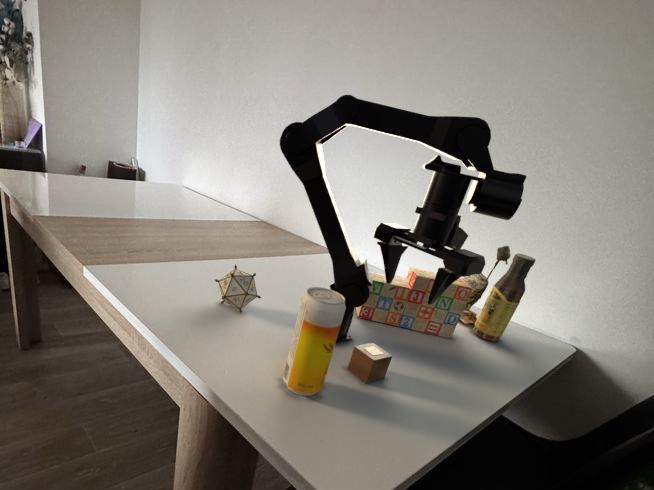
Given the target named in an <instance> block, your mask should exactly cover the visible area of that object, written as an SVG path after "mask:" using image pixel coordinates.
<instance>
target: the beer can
mask: <svg viewBox="0 0 654 490" xmlns="http://www.w3.org/2000/svg"><path fill="white" fill-rule="evenodd" d="M300 300H301V301H300V305H299V308H298V312H297V316H296V317H297V318H296V322H295V326H294V331H293V333H292V338H291V343H290V346H289V351H288V355H287V360H286V363H285V369H284V372H283V377H282V379H283V382H284V383H285V385H286V387H287V388H288V390H289V391H291V392H292V393H294V394H296V395H299V396H303V397H304V396H305V397H308V396H314V395H315V394H317V393H319V392H320V391H321V390H323V387H324V384H325V381H326V378H327V374H328V371H329V367H330V364H331V360H332V357H333V353H334V350H335V347H336V340H337V337H338V333H339V330H340V326H341V323H342V320H343V316H344V313H345V309H346V306H345V298H344V297H343V296H342V295H341V294H340V293H338V292H336V291H333V290H330V289H327V287H319V286H313V287H308V288H307V289H306V292H305V293H304V294H303V295H302V296H301V299H300Z"/></svg>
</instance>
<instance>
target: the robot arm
mask: <svg viewBox="0 0 654 490" xmlns="http://www.w3.org/2000/svg"><path fill="white" fill-rule="evenodd" d="M349 126H351V127H356V128H361V129H363V130H368V131H371V132H376V133H380V134H384V135H388V136H391V137H396V138H400V139H404V140H408V141H412V142H416V143H419V144H420V145H423V146H425V147H426V148H429V149H431V150H433V151H435V152H437V153H439V154H436V155H435V156H434V157H433V158H432V159H430V160H429V161H427V162H425V163H423V164H422V169H424V170H426V171H427V170H428V171H432V172H433V173H432V176H431V179H430V182H429V185H428V187H427V191H426V193H425V195H424V198H423V202H422V205H421V206H418V205H417V206H416V208H415V211H414V213H415V214H418V215H417V219H416V221H415V224H414V228H413V230H411V228H409V227H406V226H404V225H402V224H399V223H394V222H380V223H379V224H378V225H377V226H376V227H375V228H374V229H375V230H374V232H373V235H372V237H373V238H374V239H376V240H377V241H376V244H377V245H378V246H379V248H380V252H381V256H382V262H383V268H384V275H385V276H386V283H388V284H389V283H391V282H392V280H393V278H394V277H396V274H397V270H398V267H399V264H400V262H401V258H402V256H403V254H404V253H405V252H406V250H407V249H408V248H409V247H410V248H413V249H416V250H418V251H421V252H423V253H426V254H428V255H430V256H433V257H435V258H437V259H440V260H442V263H443V265H444V266H443V267H438V269H437V272H436V273H437V274H436V277H435V280H434V283H433V286H432V289H431V292H430V295H429V299H428V304H429V305H432V304H433V303H434V302H435V301H436V300H437V299H438V298H439V297H440V296H441V295H442V294H443V292H444V291H445V290H446V289H447V288H448V287H449V286H450V285H451V284H452V283H453V282H455V281H456V280H457V279H458V278H460V279H461V278H464V277H465V276H470V275H475V274H481V273H482V274H483V271H484V269H485V267H486V266H485V265H486V259H485V256H484V255H482V254H479V253H476V252H474V251H471V250H469V249H465V248H462V247H463V246H464V244H465V243H466V241H467V239H468V238H469V234H468V233H467V232H466V231H465V230H464V229H463V227H461V226H460V223H461V221H462V215H459V212H460V209H461V208H462V205H463V202H464V200H465V204H466V205H469V206H470V207H469V211H470V212H471V213H473V214H479V215H484V216H487V217H491V218H496V219H500V220H505V221H510V220H511V219H512V218H513V217H514V216H515V215H516V213H517V212H518V210H519V207H520V206H521V203H522V201H523V199H522V197H523V194H524V190H525V189H524V188H525V185H524V183H525V182H526V179H527V175H526V174H522V173H516V172H506V171H502V170H498V169H495V167H494V164H493V160H492V157H491V152H490V149H489V146H490V143H491V139H492V130H491V128H490V126H489V123H488V122H487V121H486V120H485V119H482V118H480V117H478V116H460V115H459V116H457V115H451V116H450V115H426V114H423V113H418V112H414V111H411V110H406V109H402V108H398V107H394V106H389V105H385V104H381V103H377V102H374V101H369V100H365V99H361V98H357V97H356V96H354V95H352V94H344V95H341V96H340V97H338V99H336V100H335V101H334V102H333V103H331V104H329V105H328V106H326V107H325V108H323V109H321V110H319V111H318V112H317V113H314V114H313V115H311V116H310V117H308V118H307V119H305V120H304V121H295V122H291V123H290V124H288V125H287V126H286V127H284V129H283V131H282V132H281V135H280V138H279V148H280V151H281V153H282V155H283V156H284V158H285V160H286V161H287V163H288V165H289V167H290V168H291V170H292V172H293V173H294V174H295V176H296V177H297V178H298V180H299V181H300V182H301V184H302V186H303V188H304V191H305V193H306V196H307V198H308V201H309V204H310V206H311V209H312V211H313V214H314V217H315V220H316V222H317V225H318V228H319V230H320V232H321V235H322V239H323V241H324V243H325V246H326V249H327V252H328V254H329V257H330V259H331V264H332V272H333V273H332V274H333V281H334V282H332V283H331V284H328V285H327V287H326V289H330V290H333V291H336V292H338V293H340V294H341V295H342V296H343V297H344V298H345V306H346V309H345V313H344V316H343V320H342V323H341V326H340V330H339V333H338V337H337V340H336V343H341V342H342V343H343V342H347V341H348V342H349V341H352V339H353V337H352V335H351V334H349V331H350V328H351V324H352V321H353V318H354V312H355V310H356V307H360V306H362V305H363V304H364V303H366V302H367V300H368V298H369V294H370V286H372V278H373V274H372V273H371V272H372V271H370V268H369V266H368V259H367V256H366V255H364V256H362V257H361V258H359V257H358V256H357V254H356V253H355V252H354V250H353V248H352V244H351V242H350V239H349V236H348V233H347V231H346V228H345V224H344V221H343V219H342V217H341V214H340V211H339V208H338V206H337V205H338V204H337V202H336V200H335V196H334V195H333V192H332V189H331V186H330V183H329V181H328V178H327V174H326V164H325V155H324V149H323V145H324V144H325V143H326V142H328V141H330V140H331V139H332V138H334V137H335V136H337V135H338V134H339V133H340V132H342V131H343V130H345V129H346V128H348V127H349ZM440 154H441V155H443V156H445V157H448V158H450V160H454V161H460V162H461V163H462V164H463V165H464V167H465V168H466V169H467V170H469V171H472V172H478V176H474V175H471V174H465V173H461V172H462V165H461V164H457V163H453V162H448V161H443V159H442V156H441V155H440ZM471 182H472V183H471ZM465 197H466V199H465ZM336 343H335V344H336Z"/></svg>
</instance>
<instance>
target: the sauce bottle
mask: <svg viewBox="0 0 654 490" xmlns="http://www.w3.org/2000/svg"><path fill="white" fill-rule="evenodd" d="M535 263H536V258H534V257H532V256H529V255H528V254H527V255H526V254H524V253H518V252H517V253H515V254H514V256H513V258H512V262H511V263H510V266H509V267H508V269H507V270H506V272H505V273H504V274H503V275H502V276H501V277H500V278H499V279H498V280H497V281H496V282H495V283H494V285H493V286H492V288H491V290H490V292H489V294H488V295H487V298H486V300H485V302H484V304H483V306H482V308H481V310H480V313H479V314H478V316H477V320H476V323H475V324H474V327H473V328H472V333H474V334H475V335H476V336H477V337H478V338H480V339H483V340H486V341H490V342H498V341H500V339H501V337H502V336H503V334H504V333H505V331H506V329H507V327H508V325H509V323H510V321H511V320H512V318H513V316H514V314H515V312H516V310H517V308H518V306H519V305H520V303H521V300H522V298H523V296H524V294H525V292H526V281H525V280H526V278H527V277H528V274H529V272H530V270H531V268H532V267H533V266H534V265H535Z"/></svg>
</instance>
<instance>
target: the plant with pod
mask: <svg viewBox="0 0 654 490" xmlns="http://www.w3.org/2000/svg"><path fill="white" fill-rule="evenodd" d="M511 256H512V255H511V249H510V246H509V245H504V246H500V247H498V248H497V249H496V258H495V259H496V261H495V263H494V266H493V267H492V269H491V270H490V272H489V273H488V275H487V277H486V276H485V275H484V274H483V272H482V273H481V274H475V275H470V276H465V277H462V279H464V280H465V281H466V282H467V283H468V284H469V285H470V286H471V287H472V288H473V289H472V292H471V294H470V296H469V298H468V300H467V304H466V306H465V309H464V311H463V313H462V314H461V317H460V319H459V320H460V321H462V322H463V324H465V325H468V324H474V325H475V323H476V320H477V318H478V316H477V313H476V312H474V311H472V310H471V308H472V307H473V306H474V305H475V304H477V303H478V302H479V300H481V299H482V296H483V295H484V294H485V292H486V290H487V288H488V286H489V278H490V277H491V275H492V273H493V271H494V270H495V269H496V268H497V266H498V264H499V262H501V261H502V262H504V263H505V265H508V260H509V259H510V258H511Z"/></svg>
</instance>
